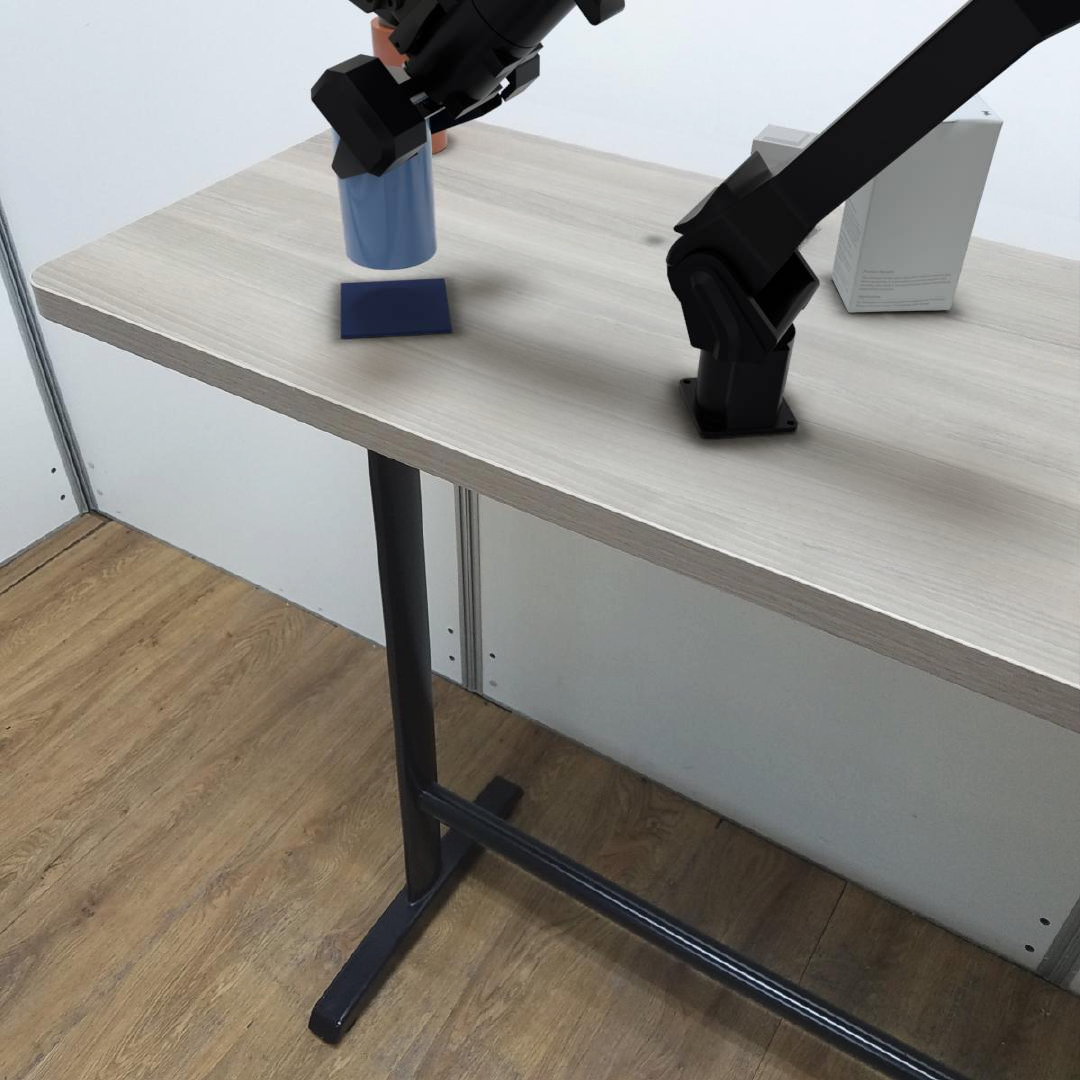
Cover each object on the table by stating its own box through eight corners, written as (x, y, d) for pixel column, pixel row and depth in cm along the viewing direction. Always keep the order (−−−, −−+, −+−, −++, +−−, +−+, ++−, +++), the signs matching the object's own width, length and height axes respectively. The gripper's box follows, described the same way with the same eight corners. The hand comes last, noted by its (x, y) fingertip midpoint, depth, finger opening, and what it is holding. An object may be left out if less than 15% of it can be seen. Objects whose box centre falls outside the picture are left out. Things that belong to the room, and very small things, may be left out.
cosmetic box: (927, 278, 87) (980, 87, 77) (952, 315, 82) (1011, 117, 72) (824, 278, 86) (864, 86, 77) (843, 316, 82) (887, 116, 72)
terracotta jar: (449, 155, 104) (444, 22, 96) (380, 157, 104) (370, 23, 96) (445, 130, 109) (439, 1, 101) (379, 132, 108) (369, 3, 101)
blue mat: (452, 332, 79) (451, 329, 79) (341, 338, 78) (340, 335, 78) (444, 281, 85) (444, 277, 85) (341, 286, 84) (340, 282, 84)
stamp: (751, 205, 97) (766, 109, 91) (822, 223, 94) (842, 125, 89) (709, 242, 91) (722, 142, 85) (783, 262, 88) (802, 160, 83)
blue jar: (454, 254, 78) (447, 81, 70) (374, 279, 75) (357, 101, 67) (406, 222, 82) (394, 55, 74) (328, 244, 79) (307, 73, 71)
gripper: (499, -142, 68) (370, 21, 79) (317, -89, 55) (194, 96, 66) (606, 11, 70) (466, 148, 81) (454, 95, 58) (313, 244, 69)
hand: (367, 155), depth 74 cm, fingers closed on blue jar, 6 cm apart
